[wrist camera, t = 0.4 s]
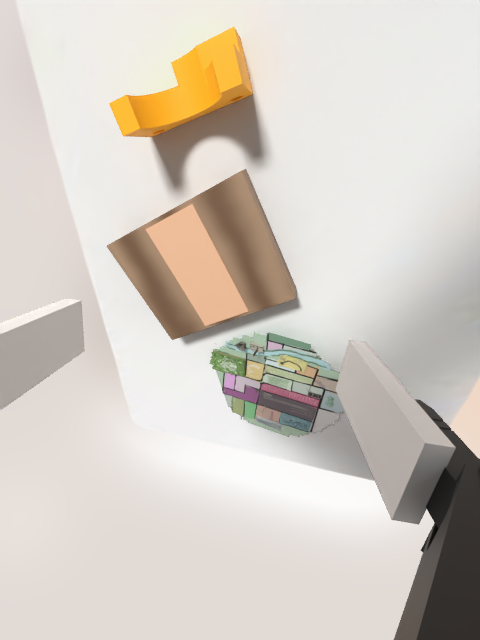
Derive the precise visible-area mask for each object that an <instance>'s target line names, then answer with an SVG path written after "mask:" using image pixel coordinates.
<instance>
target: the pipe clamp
mask: <svg viewBox="0 0 480 640" xmlns="http://www.w3.org/2000/svg"><path fill="white" fill-rule="evenodd" d="M171 64H172V67H173V70H174V73H175V76H176V79H177V82H178V85H179V86H177V87H174V88H171V89H169V90H166V91H162V92H159V93H155V94H150V95H143V96H130V95H125V96H123V97H121V98H119V99H117V100H115V101H113V102H111V103H109V104H110V107H111V109H112V111H113V114H114V116H115V118H116V121H117V123H118V125H119V128H120V130H121V132H122V135H123V136H135V137H154V136H156V135H158V134H161V133H163V132H165V131H168V130H170V129H172V128H175V127H177V126H179V125H182V124H184V123H186V122H189V121H191V120H193V119H196V118H198V117H201V116H203V115H205V114H208V113H210V112H212V111H215V110H217V109H219V108H222V107H224V106H226V105H229V104H231V103H233V102H236V101H238V100H240V99H243V98H245V97H248V96H250V95H252V94H253V92H252V88H251V83H250V79H249V74H248V70H247V65H246V61H245V57H244V52H243V48H242V43H241V39H240V37H239V35H238V33H237V31H236V30H235V28H234V27H233V28H231V29H229V30H227V31H225V32H223V33H221V34H219V35H217V36H215V37H213V38H211V39H209V40H207V41H205V42H203V43H201V44H199V45H197V46H196V47H195V48H194V49H193V50H191V51H190V52H189V53H187V54H186V55H184V56H183V57H181V58H179V59H178V60H176V61H174V62H172V63H171Z"/></svg>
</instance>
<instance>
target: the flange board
mask: <svg viewBox="0 0 480 640" xmlns="http://www.w3.org/2000/svg"><path fill="white" fill-rule="evenodd" d="M107 247H108V249H109V250H110V252H111V253H112V255H113V256H114V257H115V259H116V260H117V262H118V263H119V265H120V266H121V268H122V269H123V270H124V272H125V273H126V275H127V276H128V278H129V279H130V280H131V282H132V283H133V285H134V286H135V288H136V289H137V290H138V292H139V293H140V295H141V296H142V298H143V299H144V300H145V302H146V303H147V305H148V306H149V308H150V309H151V310H152V312H153V313H154V315H155V316H156V318H157V319H158V320H159V322H160V323H161V325H162V326H163V328H164V329H165V330H166V332H167V333H168V335H169V336H170V338H171V339H172V340H174V339H177V338H180V337H183V336H186V335H189V334H192V333H195V332H198V331H201V330H204V329H206V328H209V327H212V326H215V325H218V324H221V323H224V322H227V321H230V320H233V319H236V318H239V317H242V316H245V315H248V314H251V313H254V312H257V311H260V310H263V309H266V308H269V307H272V306H275V305H278V304H281V303H284V302H287V301H290V300H293V299H296V287H295V284H294V282H293V279H292V277H291V275H290V272H289V270H288V268H287V265H286V263H285V260H284V258H283V256H282V253H281V251H280V249H279V246H278V244H277V242H276V239H275V237H274V234H273V232H272V230H271V227H270V225H269V223H268V220H267V218H266V215H265V213H264V211H263V208H262V206H261V204H260V201H259V199H258V196H257V194H256V192H255V189H254V187H253V185H252V182H251V180H250V178H249V175H248V173H247V170H246V169H245V170H242V171H241V172H239V173H237V174H235V175H233V176H231V177H230V178H228V179H226V180H224V181H222V182H221V183H219V184H217V185H215V186H213V187H212V188H210V189H208V190H206V191H204V192H203V193H201V194H199V195H197V196H195V197H194V198H192V199H190V200H188V201H186V202H185V203H183V204H181V205H179V206H177V207H176V208H174V209H172V210H170V211H168V212H167V213H165V214H163V215H161V216H159V217H158V218H156V219H154V220H152V221H150V222H149V223H147V224H145V225H143V226H141V227H140V228H138V229H136V230H134V231H132V232H131V233H129V234H127V235H125V236H123V237H122V238H120V239H118V240H116V241H114V242H113V243H111V244H109V245H107Z"/></svg>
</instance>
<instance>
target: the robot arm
mask: <svg viewBox="0 0 480 640" xmlns="http://www.w3.org/2000/svg"><path fill="white" fill-rule="evenodd" d="M83 351H84V336H83V321H82V304H81V300H75V299H68V298H66V299H63V300H60V301H58V302H55V303H52V304H49V305H47V306H44V307H41V308H39V309H36V310H33V311H31V312H28V313H26V314H23V315H20V316H18V317H15V318H12V319H9V320H7V321H4V322H1V323H0V410H2V409H3V408H4V407H6V406H7V405H9V404H10V403H11V402H13V401H14V400H16V399H17V398H18V397H20V396H21V395H23V394H24V393H26V392H27V391H29V390H30V389H31V388H33V387H34V386H36V385H37V384H38V383H40V382H41V381H43V380H44V379H45V378H47V377H48V376H50V375H51V374H53V373H54V372H55V371H57V370H58V369H60V368H61V367H62V366H64V365H65V364H66V363H68V362H70V361H71V360H72V359H73V358H75V357H77V356H78V355H79V354H81V353H82V352H83ZM336 392H337V394H338V397H339V399H340V401H341V403H342V406H343V408H344V410H345V413H346V415H347V417H348V420H349V422H350V424H351V427H352V429H353V431H354V434H355V436H356V438H357V441H358V443H359V445H360V447H361V450H362V452H363V454H364V457H365V459H366V461H367V464H368V466H369V468H370V471H371V473H372V475H373V478H374V480H375V482H376V485H377V487H378V489H379V491H380V494H381V496H382V498H383V501H384V503H385V505H386V507H387V510H388V512H389V515H390V517H391V519H392V520H397V521H403V522H408V523H414V524H419V523H420V521H421V519H422V517H423V515H424V513H425V511H426V509H427V510H428V512H429V513H430V515H431V517H432V519H433V520H434V522H435V524H434V526H433V527H432V530H431V531H430V533H429V535H428V537H427V539H426V541H425V544H424V546H423V547H422V549H421V551H422V552H423V555H422V558H421V561H420V564H419V567H418V570H417V573H416V576H415V579H414V582H413V585H412V588H411V591H410V594H409V597H408V599H407V602H406V606H405V608H404V611H403V614H402V617H401V620H400V623H399V626H398V629H397V632H396V635H395V638H394V640H480V459H478V458H477V457H476V456H475V454H474V453H473V452H472V451H471V450H470V449H469V448H468V447H467V446H466V445H465V444H464V442H463V441H462V440H461V439H460V438H459V437H458V436H457V435H456V434H455V433H454V431H451V428H450V427H449V426H448V425H447V424H446V423H445V422H443V419H442V418H441V417H440V416H439V415H438V414H437V413H436V412H435V411H434V410H433V409H432V408H430V407H429V406H428V405H426V404H425V403H423V402H422V401H421V400H416V399H414V398H413V397H412V396H411V395H410V394H409V392H408V391H407V390H406V389H405V388H404V387H403V385H402V384H401V383H400V382H399V381H398V380H397V378H396V377H395V376H394V375H393V374H392V373H391V371H390V370H389V369H388V368H387V367H386V366H385V364H384V363H383V362H382V361H381V360H380V359H379V357H378V356H377V355H376V354H375V353H374V352H373V350H372V349H371V348H370V347H369V346H368V345H367V343H366V342H359V341H352V340H349V343H348V347H347V350H346V354H345V358H344V361H343V365H342V368H341V372H340V375H339V379H338V383H337V386H336Z"/></svg>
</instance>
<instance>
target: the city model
mask: <svg viewBox="0 0 480 640" xmlns="http://www.w3.org/2000/svg"><path fill="white" fill-rule="evenodd" d="M215 345H216V344H215ZM225 346H226V347H224V346H223V348H221V347H220V348H221V350H218V349H214V350H213V352H212V354H213V356H212V357H211V358H212V359H211V363H210V364H212V365H214V366H213V367H212V368H213V369H215V370H216V371H217V374H218V377H219V380H220V383H221V386H222V391H223V394H224V395H225V398H226V401H227V404H228V407H231V408H232V412H234V413H237V414H239V415H240V416H241V415H242V416H241V419H242V417H243V419H244V420H247V421H248V422H249V423H251V424H254V425H257V426H260V427H263V428H265V429H268V430H271V431H274V432H277V433H279V434H282V435H285V436H288V437H289V434H293V435H295V436H298V437H299V436H300V435H305V434H309V432H312V433H315V432H317V431H320V432H322V429H323V428H326V426H328V425H330V424H331V425H334V422H335V420H337V421H338V419H339V415H340V413H339V412H341V413H343V406H342V403H341V401H340V399H339V397H338V394H337V392H336V386H337V383H338V379H339V374H340V372H337V371H333V370H330V369H331V367H330V365H329V364H328V363H326V362H324V361H322V360H321V358H318V357H316V355H317V353H316V352H312V351H309V350H310V347H311V344H307V343H304V342H300V341H297V340H293V339H290V338H286V337H283V336H279V335H276V334H272V333H269V332H268V333H267V336H264V335H260V334H257V333H254V336H253V338H252V337H249V336H246V335H245V336H243V340H241V339H237V338H233V341H232V340H230V343H229V342H227V341H226V345H225ZM241 419H240V420H241Z"/></svg>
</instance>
